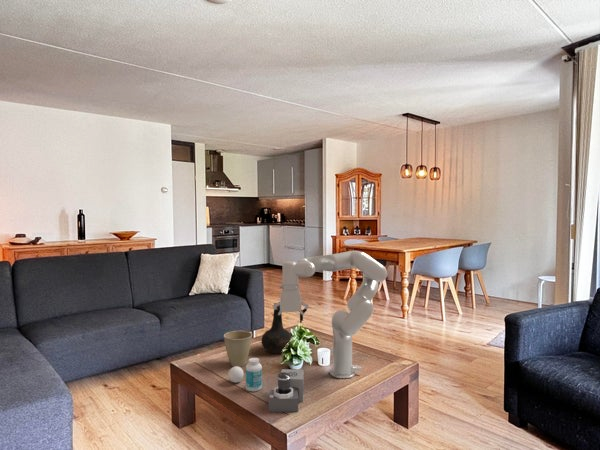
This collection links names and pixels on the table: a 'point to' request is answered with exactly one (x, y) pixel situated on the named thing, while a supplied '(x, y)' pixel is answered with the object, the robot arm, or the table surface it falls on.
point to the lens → (283, 383)
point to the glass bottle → (275, 336)
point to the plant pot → (238, 346)
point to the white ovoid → (236, 374)
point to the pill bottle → (253, 375)
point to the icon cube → (296, 381)
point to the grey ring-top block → (283, 401)
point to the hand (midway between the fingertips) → (290, 322)
